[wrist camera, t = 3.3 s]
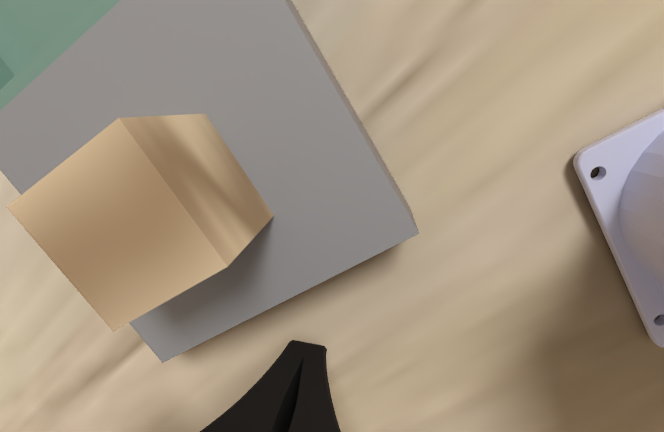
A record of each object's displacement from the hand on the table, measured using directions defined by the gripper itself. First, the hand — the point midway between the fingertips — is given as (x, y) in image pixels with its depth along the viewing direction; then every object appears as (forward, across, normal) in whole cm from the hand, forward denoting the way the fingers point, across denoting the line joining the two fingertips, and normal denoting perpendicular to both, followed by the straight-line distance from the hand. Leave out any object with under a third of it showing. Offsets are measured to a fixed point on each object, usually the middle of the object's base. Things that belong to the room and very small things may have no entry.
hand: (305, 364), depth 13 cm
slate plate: (+4, +5, -6) cm, 9 cm away
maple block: (+1, +5, -6) cm, 7 cm away
